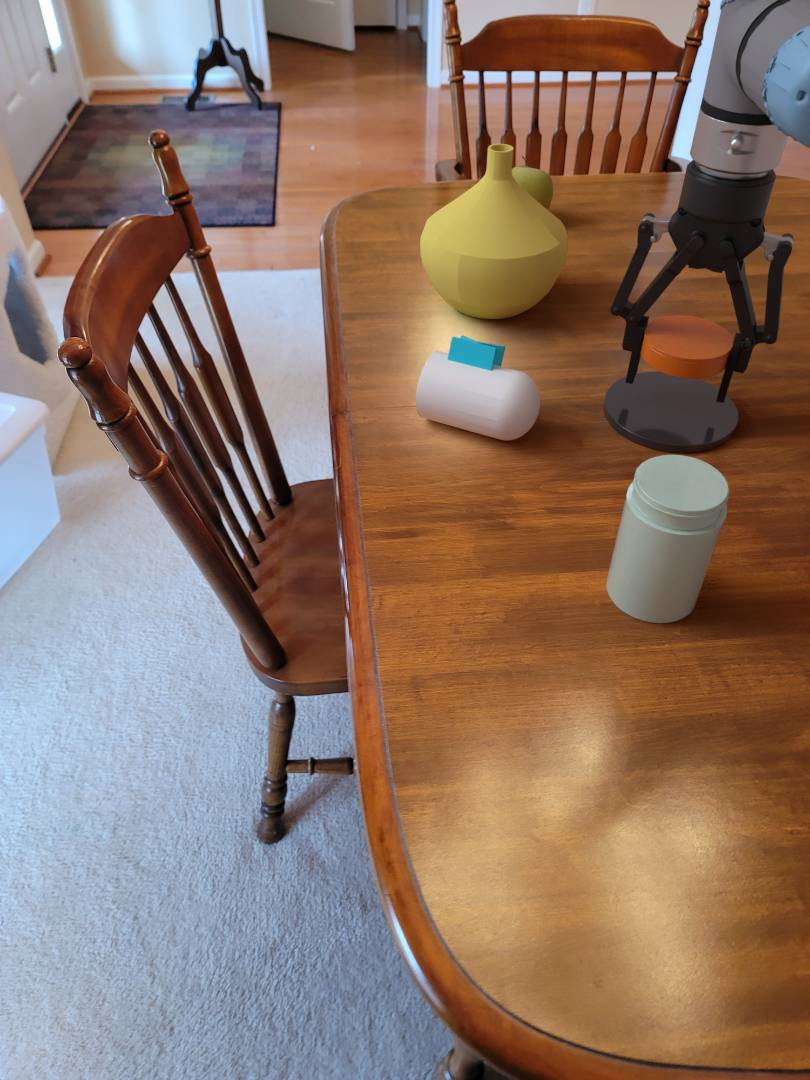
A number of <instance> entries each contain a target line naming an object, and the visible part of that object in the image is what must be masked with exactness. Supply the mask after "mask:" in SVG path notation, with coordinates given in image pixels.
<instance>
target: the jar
mask: <svg viewBox="0 0 810 1080" xmlns="http://www.w3.org/2000/svg"><path fill="white" fill-rule="evenodd" d="M729 497H730V490H729V484H728V481H727V479H726V477H725V476H724V475H723V474H722V472H721V471H720V470H718V469H717V468H716V467H714V466H713V465H712V464H710V463H708V462H706V461H704V460H701V459H699V458H696V457H693V456H689V455H684V454H662V455H658V456H657V455H656V456H653V457H651V458H648V459H646V460H645V461H643V462H641V464H639V465H638V467H636V469H635V473H634V476H633V480H632V482H631V483H630V485H628V488H627V491H626V495H625V498H624V502H623V507H622V512H621V516H620V520H619V525H618V529H617V532H616V537H615V540H614V541H615V542H614V546H613V549H612V554H611V558H610V563H609V567H608V572H607V576H606V580H605V588H606V591H607V592H606V593H607V594H608V598H609V599H610V600H611V602H612V603H613V604H614V605H615V606H616V607H617V608H618V609H619V610H620V611H622V612H623V613H625V614H626V615H627V616H629V617H632V618H634V619H637V620H640V621H642V622H647V623H653V624H669V623H674V622H677V621H680V620H682V619H684V618H686V617H687V616H689V615H690V614H691V613H692V611H693V610H694V609H695V606H696V604H697V602H698V599H699V596H700V593H701V590H702V587H703V584H704V581H705V579H706V576H707V573H708V570H709V567H710V565H711V561H712V559H713V556H714V553H715V550H716V547H717V544H718V542H719V540H720V539H719V538H720V536H721V533H722V530H723V528H724V525H725V521H726V518H727V516H728V505H727V503H728V501H729Z"/></svg>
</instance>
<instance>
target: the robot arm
mask: <svg viewBox="0 0 810 1080" xmlns="http://www.w3.org/2000/svg"><path fill="white" fill-rule="evenodd" d="M719 10H720V14H719V19H718V21H717V22H718V23H717V28H716V32H715V36H714V42H713V47H712V50H711V51H712V52H711V56H710V60H709V65H708V70H707V74H706V80H705V84H704V88H703V93H702V99H701V103H700V106H699V109H698V110H699V111H698V114H697V119H696V124H695V129H694V132H693V138H692V143H691V145H690V146H691V147H690V150H689V154H690V157H691V159H692V160H691V161H690V162H689V163H687V165H686V169H685V173H684V178H683V182H682V187H681V192H680V195H679V201H678V205H677V208H676V211H675V212H674V213H673V214H672V215H671V217H656V216H655V214H654V213H652V212H647V213H645V214H644V215H643V217H642V219H641V220H640V223H639V225H638V227H637V238H636V239H637V241H636V248H635V251H634V253H633V254H632V258H631V260H630V262H629V264H628V266H627V269H626V272H625V274H624V276H623V278H622V281H621V283H620V285H619V288H618V290H617V292H616V295H615V297H614V300H613V302H612V304H611V306H610V309H609V312H610V314H611V315H612V316H614V317H620V318H622V319H623V320H624V322H625V329H624V334H623V338H622V343H621V347H622V351H626V352H630V359H629V363H628V368H627V372H626V376H627V377H626V376H625V377H626V382H625V383H629V384H633V381H634V379H635V376H636V374H637V373H638V371H639V370H638V369H639V365H640V360H641V358H642V356H641V353H640V349H641V344H642V340H643V335H644V331H645V328H646V326H647V325H648V324H649V320H650V316H649V315H646V313H648V312H649V310H650V309H651V307H653V306H654V304H655V303H656V301H657V300H659V298H660V297H661V296H662V294H663V293H664V292H665V290H666V289H667V288H668V287H669V286H670V285H671V283H672V282H673V281H674V280H675V279H676V277H677V276H679V275H680V274H681V273H682V271H683V270H684V269H685V268H686V266H688V269H694V270H702V269H706V270H708V271H711V272H713V273H717V274H723V272H724V275H725V279H726V284H727V285H728V286H729V287H728V288H729V291H730V295H731V296H730V297H731V300H732V305H733V309H734V313H735V317H736V322H737V326H738V330H739V332H735V334H734V337H733V346H732V350H731V353H730V356H729V360H728V363H727V366H726V368H725V369H724V370H723V375H722V378H721V382H720V385H719V387H718V389H719V392H718V396H717V400H716V402H721V403H724V400H725V397H726V395H727V393H728V390H729V387H730V384H731V381H732V377H733V375H734V373H738V374H739V373H740V374H744V373H745V372H746V371H747V369H748V367H749V362H750V361H751V358H752V353H753V350H754V348H755V347H756V346H757V345H759V344H766V345H773V344H775V343H776V342H777V340H778V335H779V330H780V320H781V310H782V298H783V297H782V296H783V284H784V274H785V273H784V272H785V267H786V264H787V263H788V261H789V258H790V256H791V255H792V251H793V247H794V242H795V241H794V240H795V238H794V236H793V234H792V233H788V232H787V233H783V234H782V235H778V234H775V233H773V232H772V233H771V232H768V231H766V227H765V223H764V221H765V220H764V219H765V216H766V213H767V209H768V205H769V203H770V199H771V195H772V193H773V188H774V185H775V182H776V178H777V175H776V172H775V170H774V169H776V168H777V167H779V166H780V165H781V163H782V159H783V155H784V151H785V148H786V144H787V141H788V138H789V137H790V138H791V139H792V140H793V141H795V142H797V143H800V144H801V145H802V146H804V147H806V148H808V149H810V0H721V1H720V4H719ZM665 233H668V234H669V236H670V239H671V240H672V242H673V244H674V247H675V249H676V250H675V251H674V253H672V255H671V257H670V258H669V259H668V261H666V263H665V265H664V266H663V267H662V268H661V269H660V271H659V272H658V273H657V275H656V276H655V277H654V278H653V280H652V281H651V282H650V283H649V284H648V286H647V287H646V288H645V289H644V291H643V292H642V293H641V295H640V296H639V297H638V298H637V299H636V300H635V302H633V301H630V300H629V298H630V295H631V293H632V291H633V289H634V286H635V285H636V282H637V280H638V277H639V275H640V273H641V271H642V268H643V266H644V264H645V261H646V260H647V258H648V255H649V253H650V251H651V248H652V246H653V244H656V243H658V242H659V241H660V240H661V238H662V236H663V234H665ZM759 247H762V248H763V250H764V254H763V256H764V259H765V261H768V262H770V263H769V267H768V273H767V284H766V285H767V286H766V296H765V297H766V299H765V312H764V324H758V323H757V317H756V313H755V310H754V305H753V300H752V296H751V291H750V287H749V281H748V277H747V273H746V263H745V259H746V258H747V257H748V256H749V255H751V254H752V253H754V251H756V249H758V248H759Z"/></svg>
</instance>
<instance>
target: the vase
mask: <svg viewBox="0 0 810 1080" xmlns="http://www.w3.org/2000/svg"><path fill="white" fill-rule="evenodd" d="M513 157H514V147H513V146H512V145H510V144H507V143H493V144H490V145H488V146H487V156H486V170H485V174H484V175H483V177H481V178H480V179H479V181H478V182H477V183H475V184H474V185H473V186H472V187H470V188H469V189H467V190H466V191H465V192H463V193H462V194H460V195H459V196H458V197H456V198H455V199H454V200H452V201H450V202H449V203H447V204H445V205H444V206H443V207H442V208H440V209H439V210H437V211H435V212H434V213H433V214H432V215H430V216H429V218H427V220H426V222H425V225H424V226H423V229H422V233H421V236H420V238H419V245H420V247H419V249H420V251H419V252H420V258H421V262H422V265H423V268H424V271H425V272H426V275H427V278H428V280H429V282H430V285H431V286H432V288H434V290H435V291H436V292H437V293H438V295H439V296H440V297H441V298H442V300H443V301H444V302H445V303H446V304H447V305H449V306H451V307H452V308H453V309H456V311H458V312H460V313H462V314H463V315H465V316H469V317H472V318H478V319H483V320H502V319H507V318H508V319H509V318H512V317H515V316H518V315H520V314H522V313H524V312H526V311H528V310H529V309H531V308H532V307H534V306H535V305H537V304H538V303H539V302H540V301H541V300H542V299H544V298H545V297H546V295H548V294H549V292H550V291H551V289H552V288H553V287H554V285H555V283H556V282H557V280H558V278H559V277H560V274H561V273H562V272H563V270H564V268H565V266H566V262H567V257H568V250H569V237H568V234H567V233H568V232H567V229H566V226H565V225H564V224H563V222H562V220H561V219H560V218H558V217H557V216H556V215H555V214H553V213H552V212H551V211H549V210H547V209H546V208H544V207H543V206H542V205H541V204H540V203H538V202H537V201H536V200H535V199H534V198H533V197H532V196H531V195H530V194H528V193H527V192H526V191H525V190H524V189H523V188H522V187H521V186H520V185H518V183H517V182H516V180H515V179H514V177H513V176H512V169H513V160H514V159H513Z"/></svg>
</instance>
